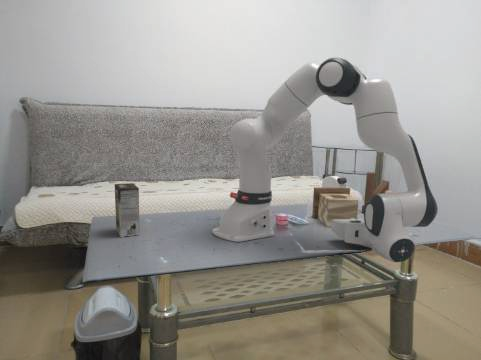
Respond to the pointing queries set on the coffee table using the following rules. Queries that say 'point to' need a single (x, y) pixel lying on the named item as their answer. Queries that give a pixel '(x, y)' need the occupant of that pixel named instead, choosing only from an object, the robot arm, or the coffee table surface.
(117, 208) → the coffee box
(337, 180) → the panda figurine
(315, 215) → the jig
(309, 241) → the coffee table surface
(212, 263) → the coffee table surface
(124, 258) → the coffee table surface
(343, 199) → the socket block
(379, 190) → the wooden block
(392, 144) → the robot arm
